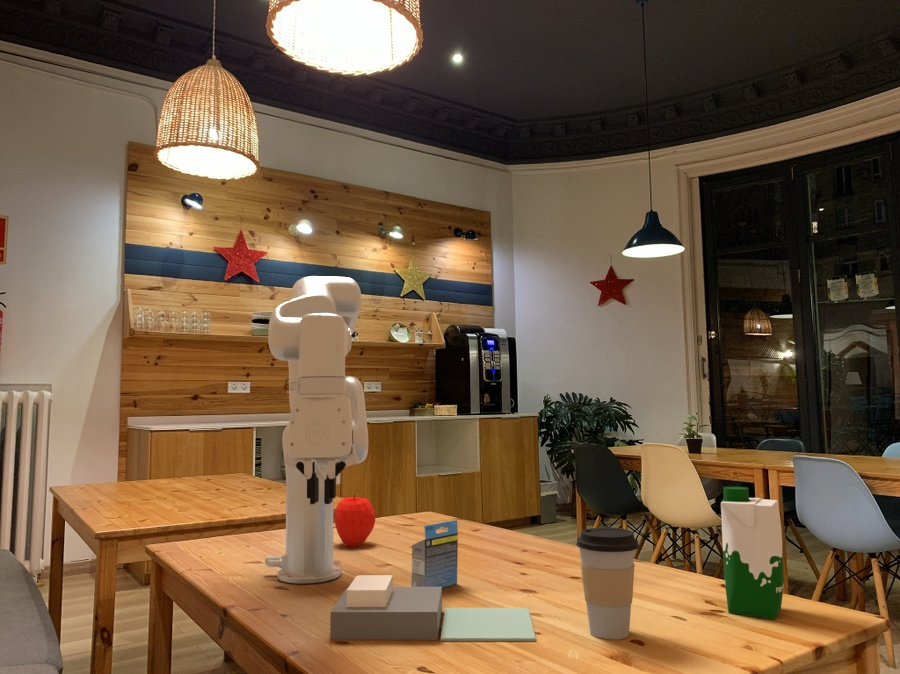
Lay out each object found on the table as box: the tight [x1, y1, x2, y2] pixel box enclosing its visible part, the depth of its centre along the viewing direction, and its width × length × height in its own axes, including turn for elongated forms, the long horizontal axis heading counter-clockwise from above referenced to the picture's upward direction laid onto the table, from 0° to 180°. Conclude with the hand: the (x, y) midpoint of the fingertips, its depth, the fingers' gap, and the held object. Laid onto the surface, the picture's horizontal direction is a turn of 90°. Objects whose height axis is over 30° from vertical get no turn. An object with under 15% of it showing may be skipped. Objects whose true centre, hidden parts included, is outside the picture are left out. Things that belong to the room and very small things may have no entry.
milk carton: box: [720, 485, 785, 621], centre depth 116 cm, size 9×9×20 cm
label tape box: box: [411, 519, 459, 589], centre depth 132 cm, size 9×4×12 cm, turn 135°
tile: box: [347, 574, 394, 607], centre depth 111 cm, size 6×9×2 cm, turn 178°
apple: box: [334, 494, 376, 548], centre depth 171 cm, size 10×10×12 cm
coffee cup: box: [575, 526, 640, 641], centre depth 106 cm, size 9×9×15 cm
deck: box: [329, 586, 443, 641], centre depth 110 cm, size 16×14×4 cm
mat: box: [440, 607, 537, 642], centre depth 110 cm, size 14×15×1 cm
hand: (321, 502), depth 112 cm, fingers closed
